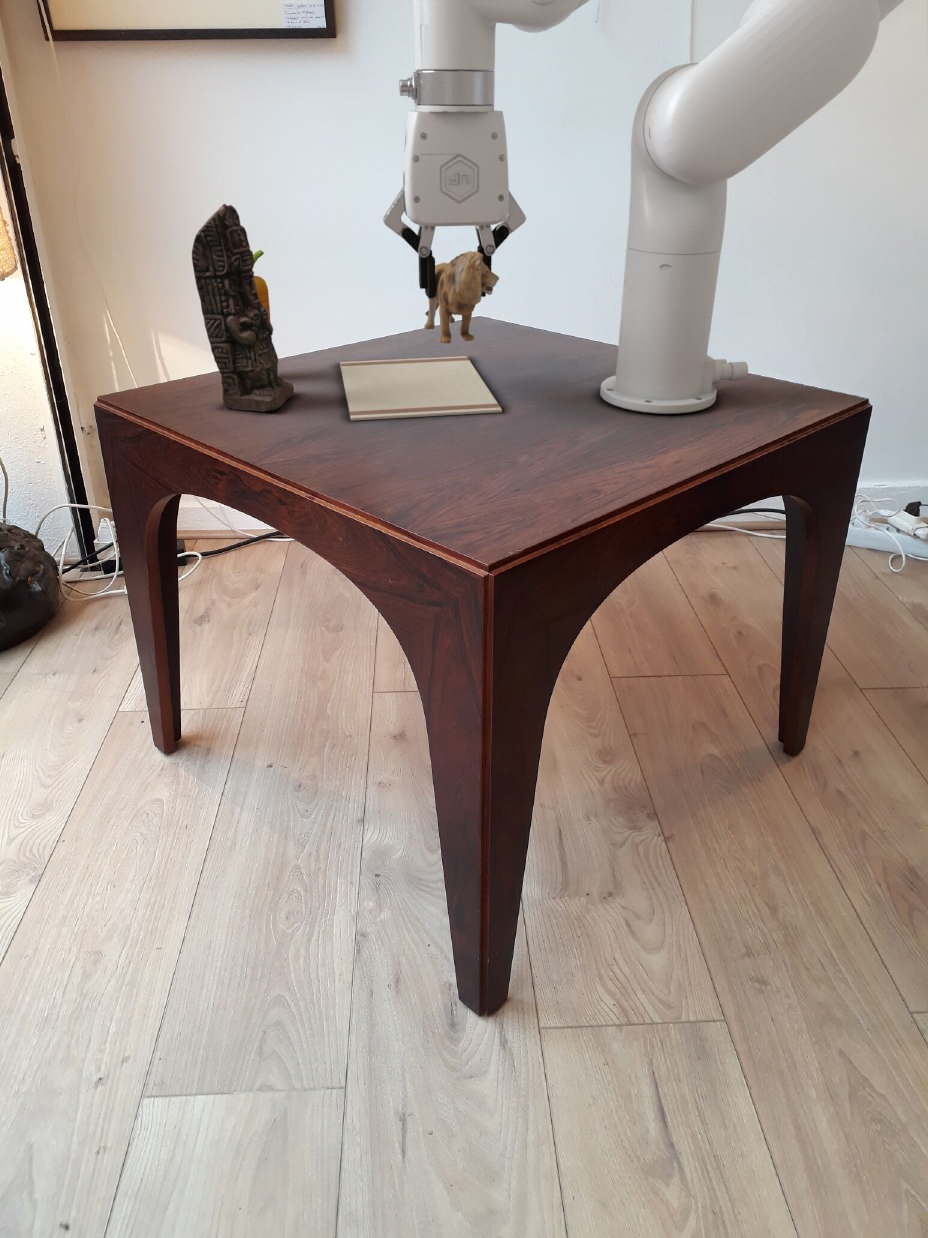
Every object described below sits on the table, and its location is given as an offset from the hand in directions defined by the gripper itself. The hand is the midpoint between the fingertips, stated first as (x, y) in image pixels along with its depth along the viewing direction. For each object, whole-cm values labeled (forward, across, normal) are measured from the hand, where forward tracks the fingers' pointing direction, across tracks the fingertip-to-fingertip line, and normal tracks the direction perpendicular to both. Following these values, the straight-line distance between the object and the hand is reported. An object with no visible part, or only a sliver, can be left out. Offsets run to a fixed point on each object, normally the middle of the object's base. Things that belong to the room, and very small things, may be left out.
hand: (455, 293), depth 95 cm
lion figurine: (+4, 0, 0) cm, 4 cm away
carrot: (+12, -22, +12) cm, 28 cm away
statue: (+12, -22, +2) cm, 25 cm away
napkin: (+11, -4, +6) cm, 13 cm away
